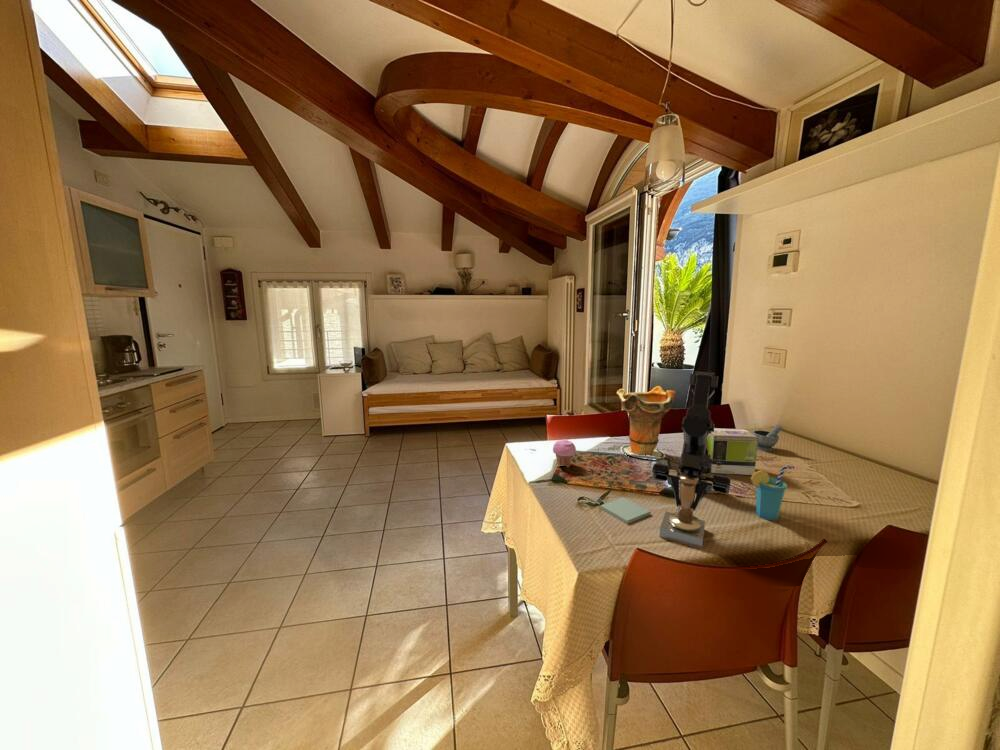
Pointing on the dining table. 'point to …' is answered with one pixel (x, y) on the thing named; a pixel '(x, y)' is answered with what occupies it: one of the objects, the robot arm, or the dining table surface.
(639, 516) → the pad
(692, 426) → the robot arm
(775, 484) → the cup
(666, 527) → the bore block
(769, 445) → the mortar and pestle
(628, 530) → the dining table surface
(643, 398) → the decorative vase
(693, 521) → the metallic flared cylinder
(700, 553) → the dining table surface
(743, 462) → the tea box
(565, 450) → the cupcake
